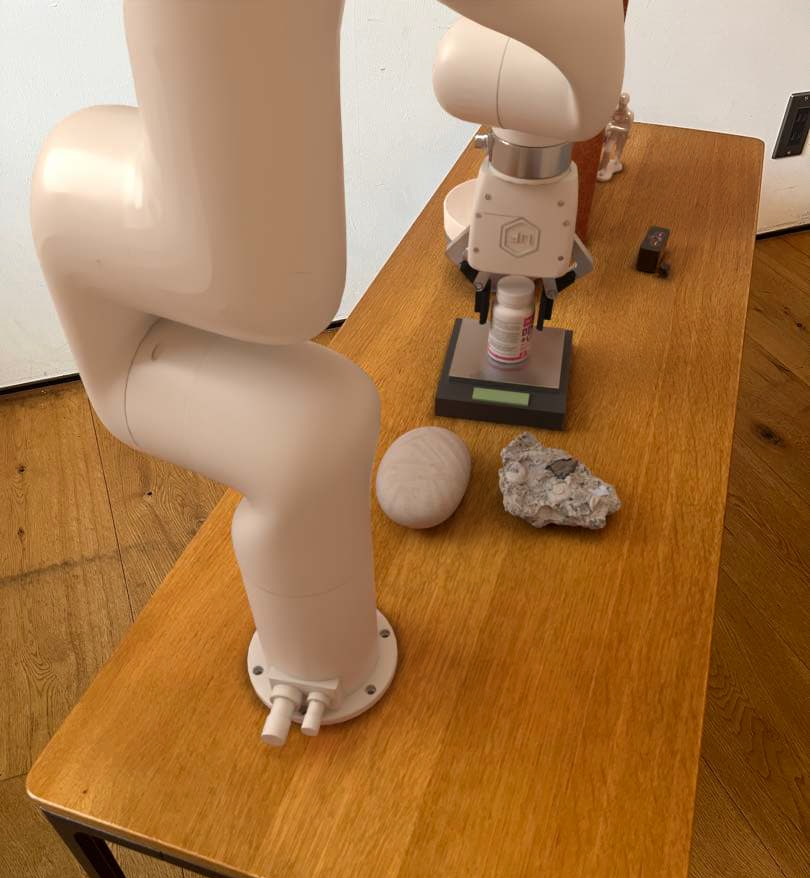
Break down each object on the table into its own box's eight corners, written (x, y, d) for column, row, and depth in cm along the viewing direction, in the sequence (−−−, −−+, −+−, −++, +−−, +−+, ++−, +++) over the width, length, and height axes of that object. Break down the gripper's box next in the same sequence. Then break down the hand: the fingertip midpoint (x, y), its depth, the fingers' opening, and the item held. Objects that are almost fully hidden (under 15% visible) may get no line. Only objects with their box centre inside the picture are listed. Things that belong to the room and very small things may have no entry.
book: (517, 171, 123) (541, -64, 100) (570, 171, 123) (606, -64, 100) (526, 248, 109) (556, -6, 86) (585, 249, 108) (632, -6, 85)
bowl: (547, 318, 98) (557, 247, 91) (425, 295, 102) (426, 225, 94) (571, 253, 108) (583, 184, 100) (460, 235, 111) (463, 167, 104)
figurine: (628, 164, 125) (645, 82, 115) (614, 190, 119) (631, 106, 110) (599, 159, 126) (613, 78, 117) (584, 185, 120) (598, 101, 111)
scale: (561, 431, 85) (565, 411, 83) (434, 415, 87) (434, 395, 85) (570, 347, 94) (573, 328, 92) (454, 335, 96) (455, 315, 94)
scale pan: (557, 394, 85) (558, 388, 84) (448, 381, 87) (448, 375, 86) (564, 334, 92) (565, 328, 91) (462, 323, 93) (463, 317, 93)
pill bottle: (527, 367, 87) (536, 300, 80) (484, 362, 87) (490, 295, 81) (531, 341, 90) (540, 275, 83) (490, 336, 90) (496, 270, 84)
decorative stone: (403, 441, 84) (402, 405, 80) (484, 461, 82) (487, 425, 78) (358, 527, 76) (355, 492, 72) (446, 551, 74) (448, 516, 70)
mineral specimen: (524, 456, 83) (633, 492, 78) (477, 525, 77) (592, 568, 73) (525, 414, 79) (642, 449, 74) (475, 483, 73) (598, 526, 68)
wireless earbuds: (632, 273, 105) (637, 250, 102) (645, 247, 109) (651, 225, 106) (666, 281, 103) (673, 258, 101) (679, 254, 107) (685, 232, 105)
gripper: (431, 161, 70) (428, 332, 84) (626, 177, 68) (590, 350, 82) (444, 126, 75) (439, 293, 89) (627, 140, 73) (593, 309, 87)
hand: (512, 319), depth 85 cm, fingers open, 5 cm apart
